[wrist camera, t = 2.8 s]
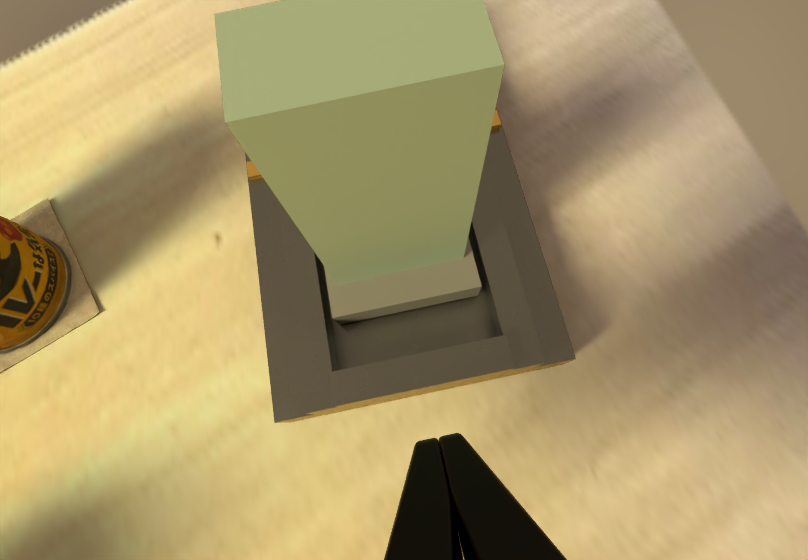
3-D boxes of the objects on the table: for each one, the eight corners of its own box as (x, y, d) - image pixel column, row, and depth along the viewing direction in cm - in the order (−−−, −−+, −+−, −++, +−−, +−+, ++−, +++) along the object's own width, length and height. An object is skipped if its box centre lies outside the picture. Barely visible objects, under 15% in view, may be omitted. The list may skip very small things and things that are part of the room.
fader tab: (478, 295, 18) (547, 118, 7) (338, 324, 18) (206, 189, 7) (450, 188, 20) (474, -88, 9) (321, 215, 20) (190, -30, 9)
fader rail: (561, 364, 19) (593, 351, 16) (289, 422, 19) (255, 423, 16) (462, 42, 25) (468, -26, 21) (250, 86, 25) (217, 26, 21)
